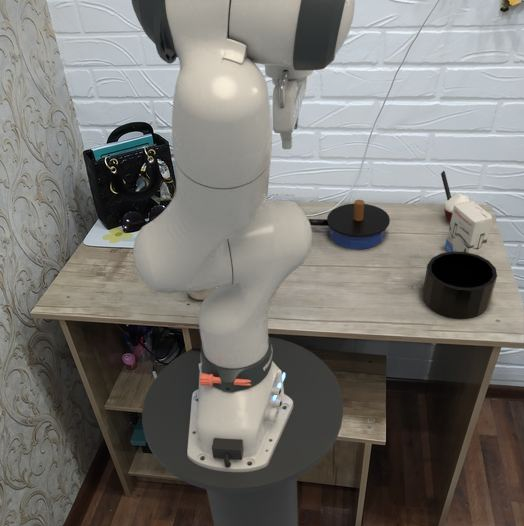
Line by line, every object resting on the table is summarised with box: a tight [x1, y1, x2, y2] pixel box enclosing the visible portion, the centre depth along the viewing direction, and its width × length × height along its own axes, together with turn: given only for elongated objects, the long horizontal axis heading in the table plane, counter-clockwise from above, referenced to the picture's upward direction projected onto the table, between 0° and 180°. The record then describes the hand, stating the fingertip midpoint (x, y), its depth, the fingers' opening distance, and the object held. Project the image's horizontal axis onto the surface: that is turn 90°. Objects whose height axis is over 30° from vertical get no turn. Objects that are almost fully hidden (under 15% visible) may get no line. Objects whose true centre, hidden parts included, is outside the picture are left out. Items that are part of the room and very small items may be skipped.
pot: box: [422, 251, 498, 320], centre depth 120 cm, size 14×14×8 cm
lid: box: [326, 199, 391, 237], centre depth 139 cm, size 15×15×6 cm
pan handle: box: [308, 218, 329, 227], centre depth 143 cm, size 2×11×2 cm, turn 81°
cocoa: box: [440, 170, 471, 223], centre depth 141 cm, size 10×6×12 cm, turn 32°
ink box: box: [444, 200, 494, 258], centre depth 130 cm, size 9×5×12 cm, turn 18°
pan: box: [328, 227, 386, 251], centre depth 141 cm, size 14×14×4 cm
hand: (290, 137), depth 112 cm, fingers open, 8 cm apart
